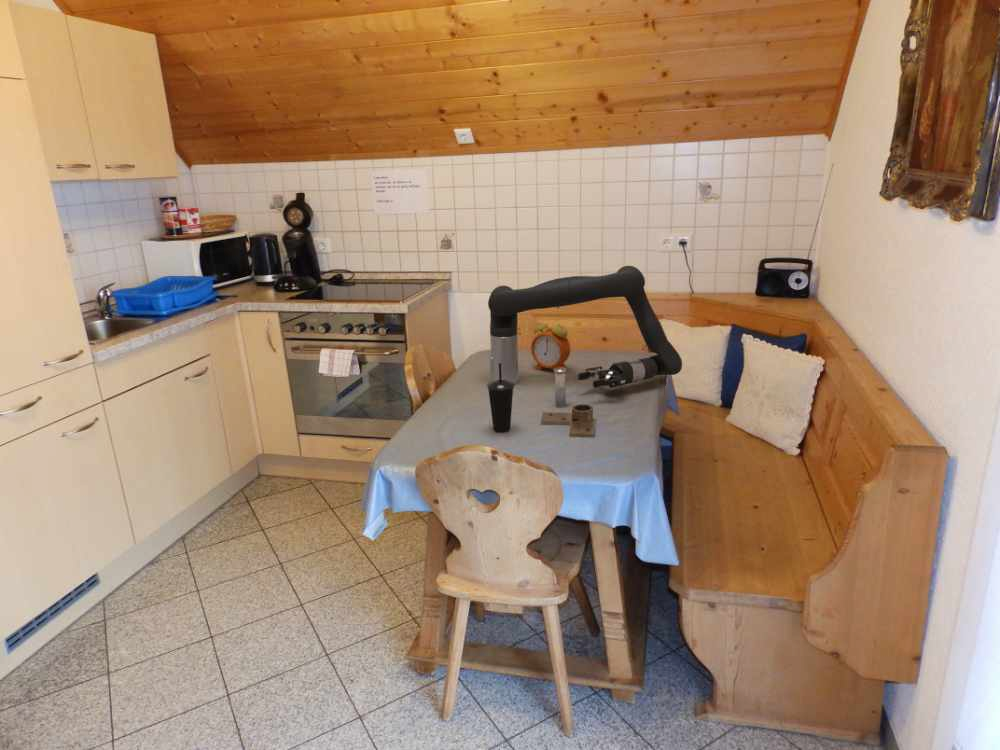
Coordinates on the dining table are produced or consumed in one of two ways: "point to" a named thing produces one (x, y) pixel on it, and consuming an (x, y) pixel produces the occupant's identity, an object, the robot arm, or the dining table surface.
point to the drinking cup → (501, 403)
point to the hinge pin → (560, 386)
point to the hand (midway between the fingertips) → (586, 380)
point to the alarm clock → (550, 347)
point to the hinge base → (573, 420)
